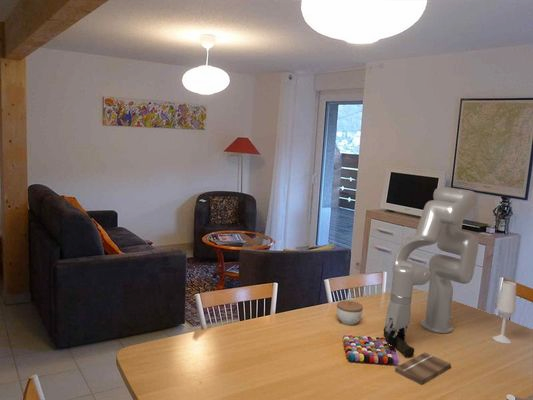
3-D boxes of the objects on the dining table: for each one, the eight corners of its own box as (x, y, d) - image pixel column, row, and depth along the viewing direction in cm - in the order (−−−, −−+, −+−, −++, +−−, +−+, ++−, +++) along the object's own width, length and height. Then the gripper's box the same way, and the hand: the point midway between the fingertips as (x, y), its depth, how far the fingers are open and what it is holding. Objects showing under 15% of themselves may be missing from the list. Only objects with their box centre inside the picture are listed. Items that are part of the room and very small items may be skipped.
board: (424, 356, 167) (425, 352, 167) (450, 367, 160) (451, 363, 159) (394, 371, 155) (395, 367, 154) (421, 384, 147) (422, 380, 147)
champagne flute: (496, 334, 190) (503, 279, 187) (513, 340, 185) (521, 283, 182) (490, 338, 185) (497, 282, 182) (507, 344, 181) (515, 286, 177)
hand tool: (414, 357, 166) (415, 345, 165) (404, 358, 165) (405, 346, 164) (390, 335, 184) (391, 324, 183) (380, 335, 183) (382, 324, 182)
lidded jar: (366, 323, 194) (368, 302, 192) (350, 329, 187) (352, 307, 185) (346, 315, 202) (348, 295, 200) (330, 320, 195) (332, 299, 193)
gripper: (404, 291, 180) (400, 335, 182) (379, 299, 169) (374, 346, 171) (421, 297, 174) (416, 342, 177) (396, 306, 163) (391, 354, 166)
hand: (396, 343), depth 174 cm, fingers closed on hand tool, 5 cm apart
